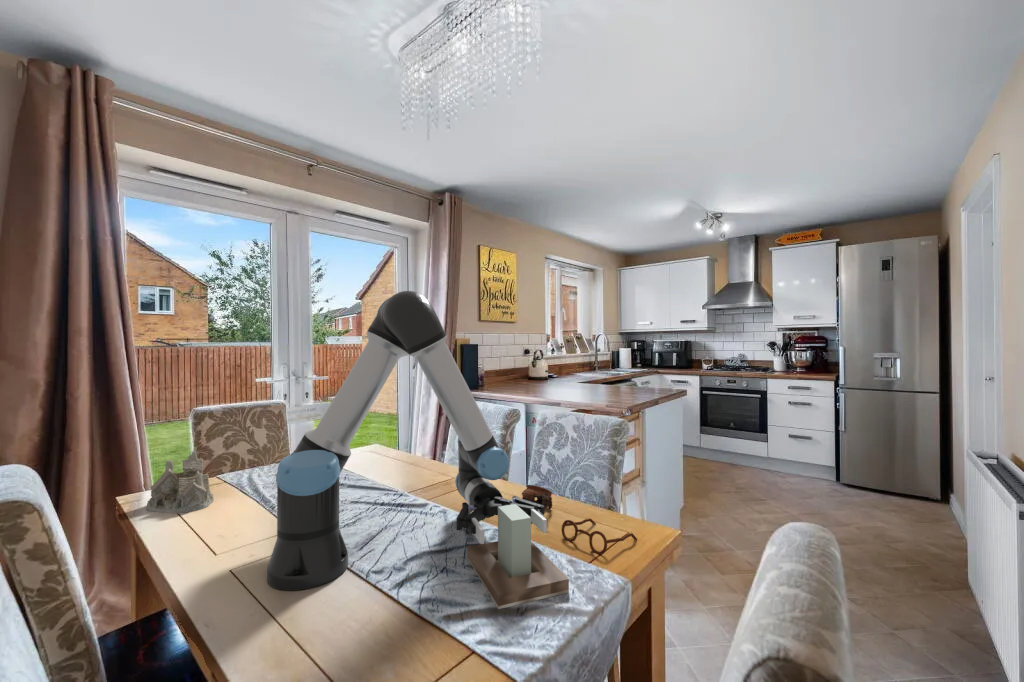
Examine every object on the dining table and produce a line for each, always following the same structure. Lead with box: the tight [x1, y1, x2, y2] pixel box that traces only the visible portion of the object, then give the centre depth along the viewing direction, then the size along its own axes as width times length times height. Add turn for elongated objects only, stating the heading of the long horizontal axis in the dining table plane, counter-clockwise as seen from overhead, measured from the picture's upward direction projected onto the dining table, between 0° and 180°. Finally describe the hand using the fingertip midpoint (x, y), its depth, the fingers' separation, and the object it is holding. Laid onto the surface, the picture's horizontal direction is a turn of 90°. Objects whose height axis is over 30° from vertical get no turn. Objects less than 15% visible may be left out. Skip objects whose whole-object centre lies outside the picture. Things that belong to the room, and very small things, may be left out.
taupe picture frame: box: [466, 540, 570, 610], centre depth 90 cm, size 14×20×2 cm
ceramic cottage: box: [145, 450, 215, 515], centre depth 129 cm, size 16×16×15 cm
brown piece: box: [521, 484, 553, 514], centre depth 122 cm, size 12×10×8 cm
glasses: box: [561, 518, 638, 555], centre depth 106 cm, size 13×13×5 cm
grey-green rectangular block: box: [497, 504, 532, 578], centre depth 90 cm, size 4×8×12 cm, turn 22°
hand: (514, 531), depth 90 cm, fingers open, 13 cm apart
